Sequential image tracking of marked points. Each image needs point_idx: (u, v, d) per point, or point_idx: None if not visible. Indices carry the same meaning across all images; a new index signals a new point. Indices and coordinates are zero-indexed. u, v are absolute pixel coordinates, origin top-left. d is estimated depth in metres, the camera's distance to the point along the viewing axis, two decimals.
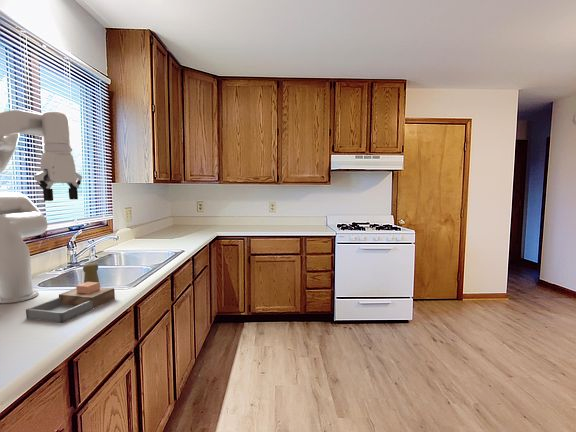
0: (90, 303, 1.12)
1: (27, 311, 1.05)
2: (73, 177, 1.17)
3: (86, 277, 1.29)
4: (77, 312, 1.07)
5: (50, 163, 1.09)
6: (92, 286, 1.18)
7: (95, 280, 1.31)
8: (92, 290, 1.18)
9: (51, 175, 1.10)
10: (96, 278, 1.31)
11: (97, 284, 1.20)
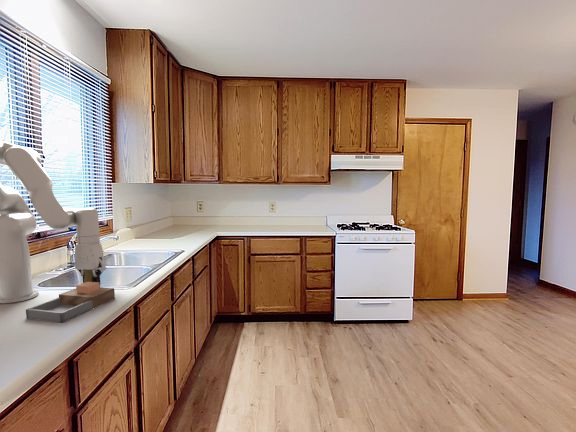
0: (90, 303, 1.12)
1: (27, 311, 1.05)
2: None
3: (86, 277, 1.29)
4: (77, 312, 1.07)
5: (102, 251, 1.31)
6: (92, 286, 1.18)
7: None
8: (92, 290, 1.18)
9: (103, 261, 1.31)
10: None
11: (97, 284, 1.20)
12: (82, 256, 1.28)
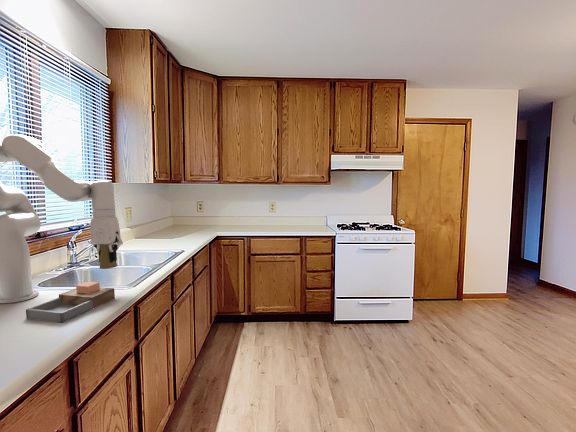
0: (90, 303, 1.12)
1: (27, 311, 1.05)
2: None
3: (102, 252, 1.25)
4: (77, 312, 1.07)
5: None
6: (92, 286, 1.18)
7: None
8: (92, 290, 1.18)
9: (119, 236, 1.27)
10: None
11: (97, 284, 1.20)
12: (98, 230, 1.24)
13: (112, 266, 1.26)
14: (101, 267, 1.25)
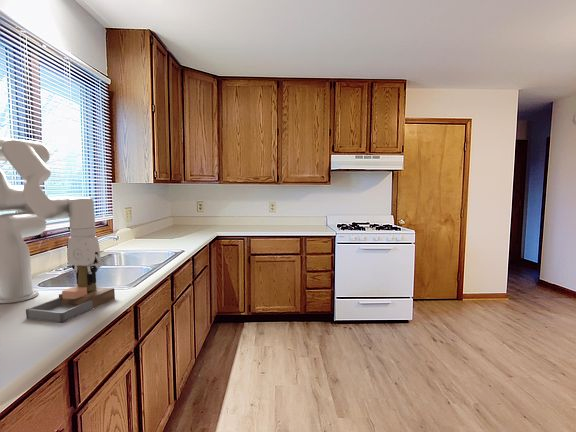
0: (90, 303, 1.12)
1: (27, 311, 1.05)
2: None
3: (80, 274, 1.16)
4: (77, 312, 1.07)
5: None
6: (79, 291, 1.12)
7: None
8: (79, 295, 1.12)
9: (99, 257, 1.18)
10: None
11: (84, 289, 1.15)
12: (76, 251, 1.15)
13: (90, 289, 1.17)
14: None
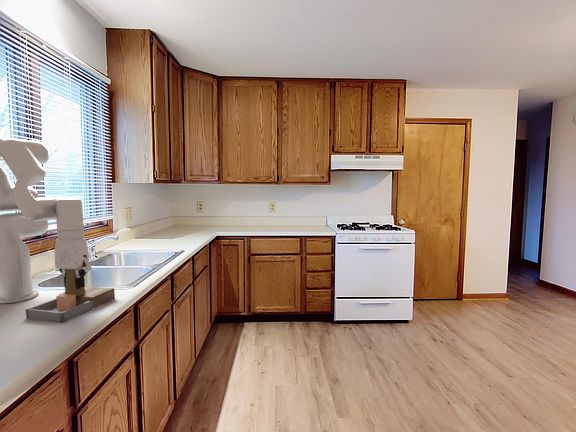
0: (90, 303, 1.12)
1: (27, 311, 1.05)
2: None
3: (68, 278, 1.12)
4: (77, 312, 1.07)
5: (87, 248, 1.13)
6: (71, 305, 1.09)
7: None
8: (74, 304, 1.10)
9: (88, 260, 1.14)
10: None
11: (70, 299, 1.09)
12: (63, 254, 1.10)
13: (79, 293, 1.13)
14: None
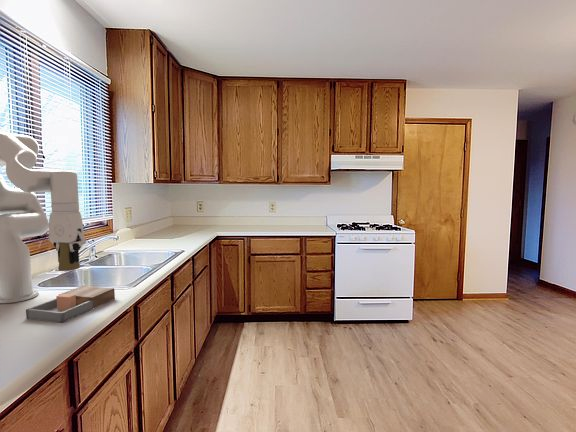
0: (90, 303, 1.12)
1: (27, 311, 1.05)
2: None
3: (62, 252, 1.10)
4: (77, 312, 1.07)
5: (82, 222, 1.11)
6: (71, 305, 1.09)
7: None
8: (74, 304, 1.10)
9: (83, 234, 1.12)
10: None
11: (70, 299, 1.09)
12: (58, 227, 1.08)
13: (73, 268, 1.11)
14: (60, 269, 1.10)
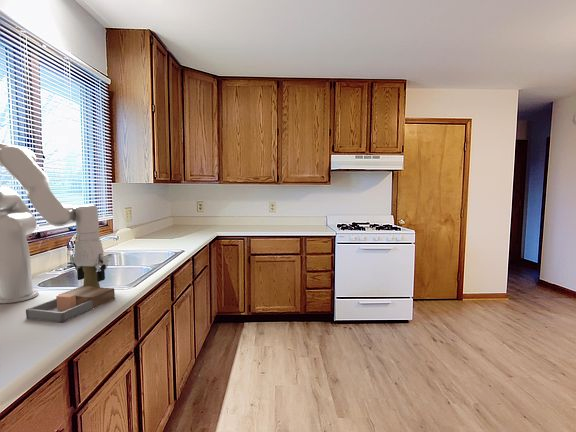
0: (90, 303, 1.12)
1: (27, 311, 1.05)
2: None
3: (85, 277, 1.29)
4: (77, 312, 1.07)
5: (102, 248, 1.31)
6: (71, 305, 1.09)
7: (94, 280, 1.31)
8: (74, 304, 1.10)
9: None
10: (95, 278, 1.31)
11: (70, 299, 1.09)
12: (82, 253, 1.28)
13: None
14: None
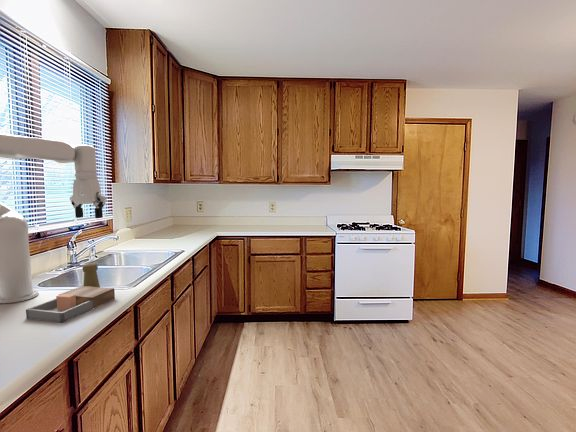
0: (90, 303, 1.12)
1: (27, 311, 1.05)
2: None
3: (85, 277, 1.29)
4: (77, 312, 1.07)
5: (99, 188, 1.37)
6: (71, 305, 1.09)
7: (94, 280, 1.31)
8: (74, 304, 1.10)
9: None
10: (95, 278, 1.31)
11: (70, 299, 1.09)
12: (80, 191, 1.34)
13: None
14: None
